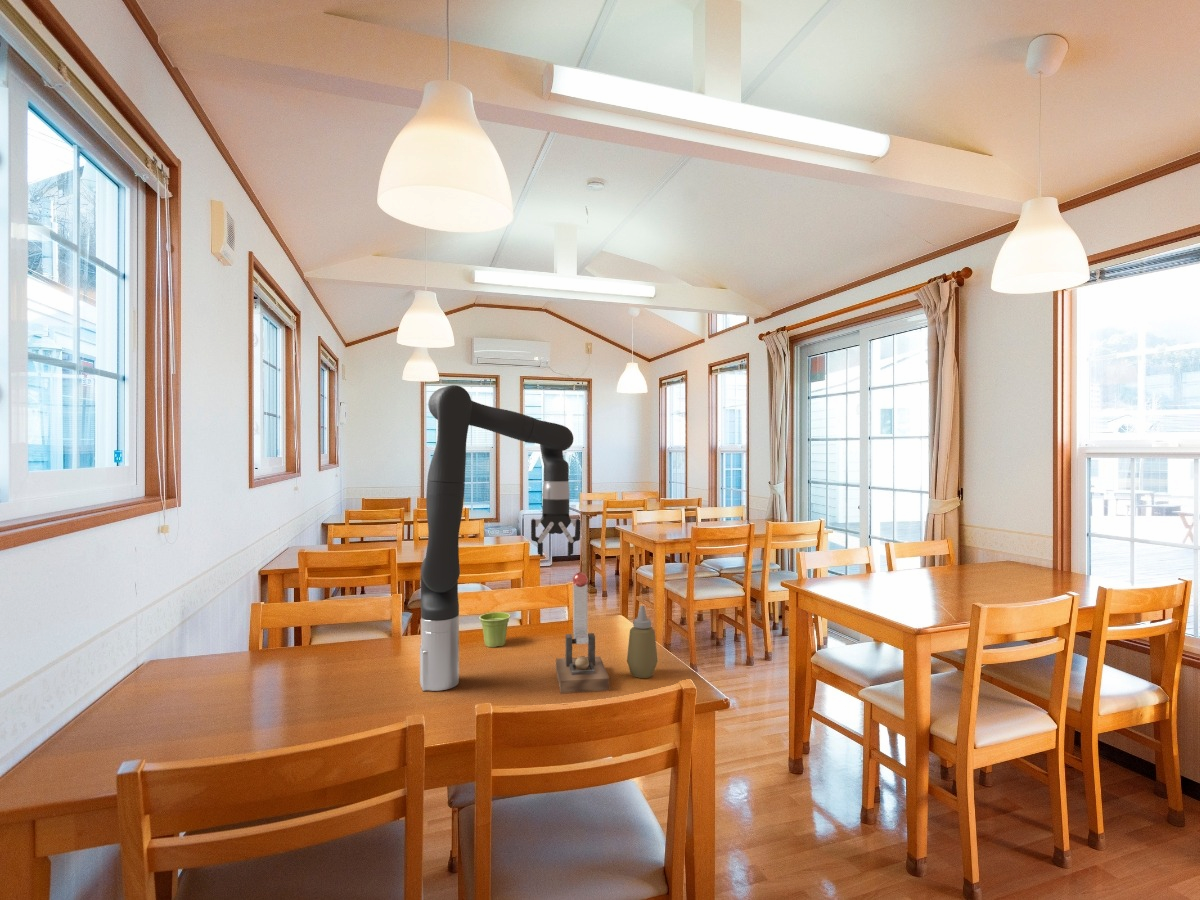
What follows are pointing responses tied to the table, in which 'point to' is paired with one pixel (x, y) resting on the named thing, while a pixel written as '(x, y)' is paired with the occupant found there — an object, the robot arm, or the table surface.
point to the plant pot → (494, 628)
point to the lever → (580, 608)
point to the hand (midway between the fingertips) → (555, 556)
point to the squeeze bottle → (642, 647)
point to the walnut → (582, 663)
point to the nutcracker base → (581, 679)
